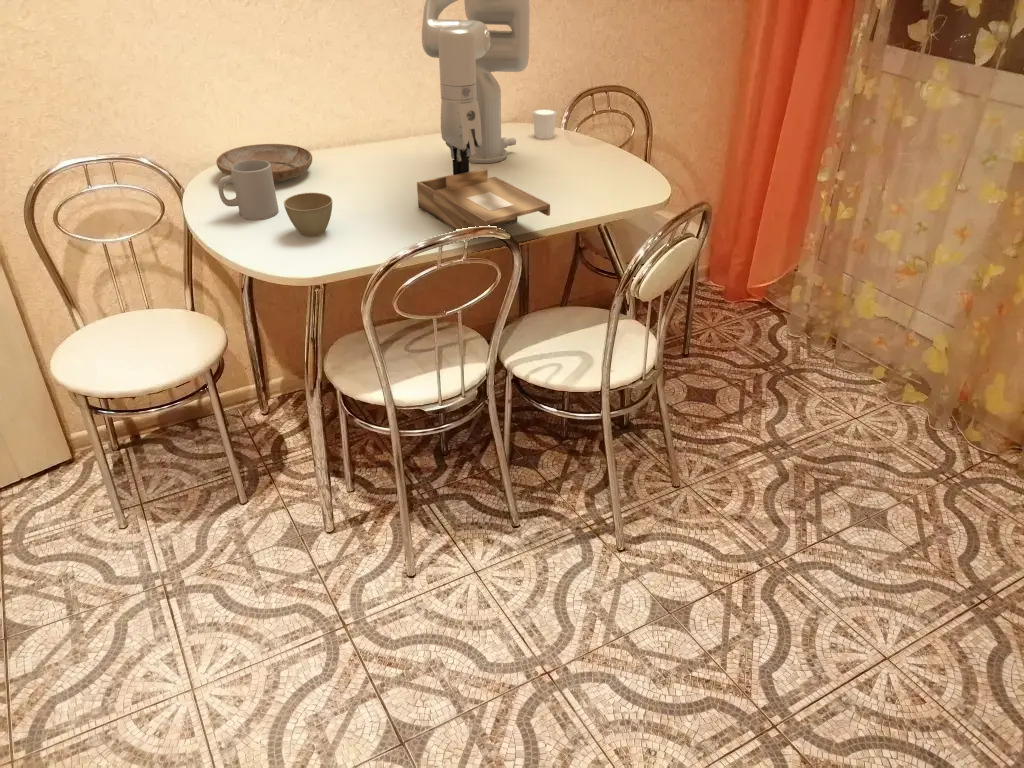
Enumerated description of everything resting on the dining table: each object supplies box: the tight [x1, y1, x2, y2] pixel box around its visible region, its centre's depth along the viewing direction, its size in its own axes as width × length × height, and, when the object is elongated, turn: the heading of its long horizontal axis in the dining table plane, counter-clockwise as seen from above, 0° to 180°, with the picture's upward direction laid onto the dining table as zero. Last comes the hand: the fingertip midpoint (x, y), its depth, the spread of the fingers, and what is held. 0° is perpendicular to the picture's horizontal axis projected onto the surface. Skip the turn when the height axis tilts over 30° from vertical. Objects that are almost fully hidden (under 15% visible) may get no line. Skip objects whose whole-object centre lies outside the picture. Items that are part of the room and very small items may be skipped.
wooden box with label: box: [433, 168, 551, 227], centre depth 165 cm, size 16×21×5 cm
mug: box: [217, 160, 279, 221], centre depth 172 cm, size 12×8×11 cm
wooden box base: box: [416, 170, 519, 231], centre depth 174 cm, size 14×20×6 cm
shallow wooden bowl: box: [215, 143, 313, 184], centre depth 196 cm, size 23×24×5 cm
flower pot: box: [283, 192, 333, 238], centre depth 165 cm, size 10×10×7 cm
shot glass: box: [532, 108, 558, 140], centre depth 224 cm, size 7×7×7 cm
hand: (461, 176), depth 172 cm, fingers closed
